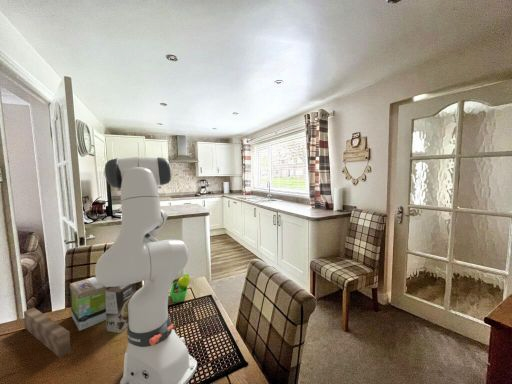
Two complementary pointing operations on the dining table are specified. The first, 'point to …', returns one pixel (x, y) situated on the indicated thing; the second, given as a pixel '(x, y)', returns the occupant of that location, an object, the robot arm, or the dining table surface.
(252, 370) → the dining table surface
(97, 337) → the dining table surface
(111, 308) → the coffee box
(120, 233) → the robot arm
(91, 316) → the tea box
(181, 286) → the fruit basket
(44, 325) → the grey-brown long bar
